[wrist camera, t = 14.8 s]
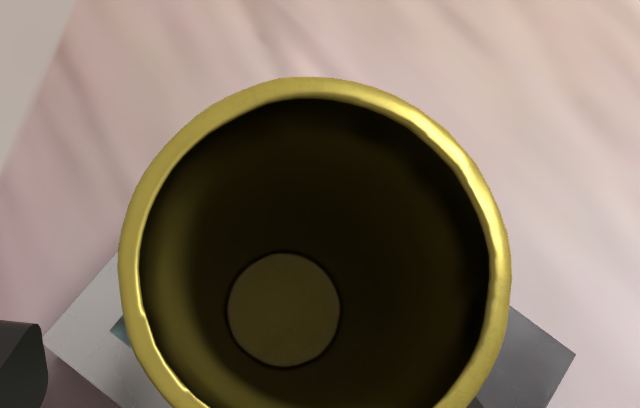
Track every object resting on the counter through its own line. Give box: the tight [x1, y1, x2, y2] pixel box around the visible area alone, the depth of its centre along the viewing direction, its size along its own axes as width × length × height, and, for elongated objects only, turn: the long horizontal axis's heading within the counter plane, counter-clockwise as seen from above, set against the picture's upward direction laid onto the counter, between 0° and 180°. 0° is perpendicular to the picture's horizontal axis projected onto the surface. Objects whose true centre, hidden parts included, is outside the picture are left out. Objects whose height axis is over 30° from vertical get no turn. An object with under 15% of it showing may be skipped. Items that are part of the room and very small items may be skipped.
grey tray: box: [42, 252, 576, 408], centre depth 20 cm, size 17×12×5 cm
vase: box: [117, 77, 512, 408], centre depth 14 cm, size 6×6×14 cm
